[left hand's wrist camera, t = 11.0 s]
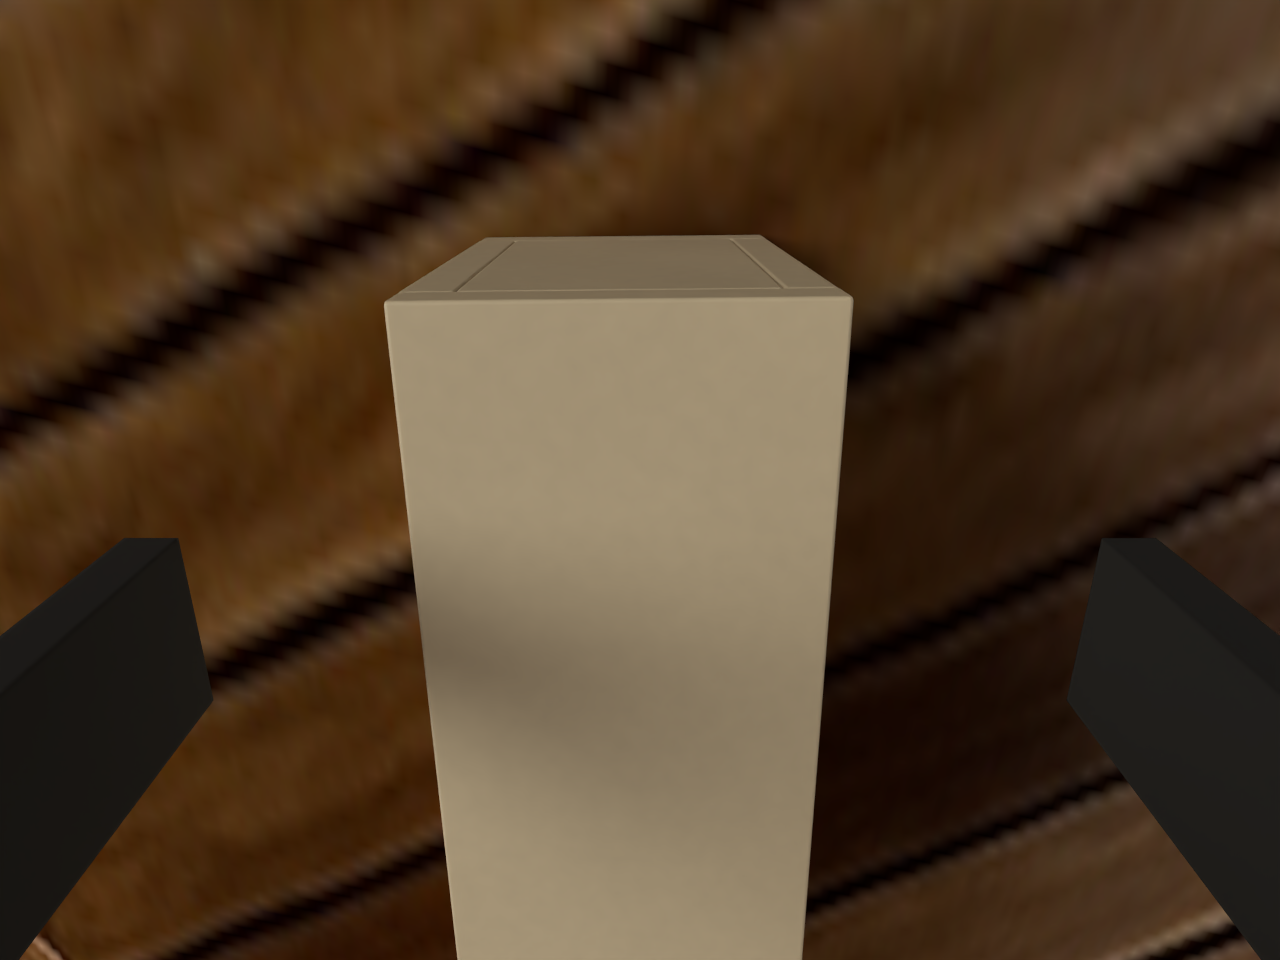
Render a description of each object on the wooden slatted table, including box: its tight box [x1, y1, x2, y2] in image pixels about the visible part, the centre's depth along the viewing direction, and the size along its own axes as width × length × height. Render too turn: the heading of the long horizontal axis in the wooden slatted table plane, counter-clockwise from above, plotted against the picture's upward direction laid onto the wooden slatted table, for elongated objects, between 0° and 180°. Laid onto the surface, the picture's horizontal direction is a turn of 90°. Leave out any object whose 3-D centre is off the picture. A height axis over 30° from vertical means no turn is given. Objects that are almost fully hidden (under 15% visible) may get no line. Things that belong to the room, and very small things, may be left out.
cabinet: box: [384, 235, 854, 960], centre depth 21 cm, size 22×7×9 cm, turn 1°
